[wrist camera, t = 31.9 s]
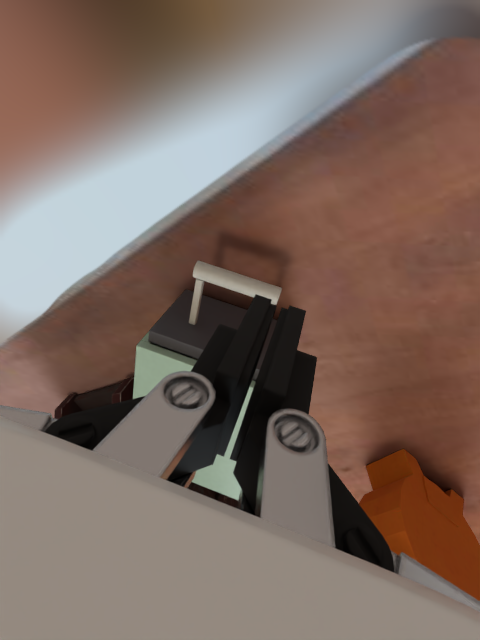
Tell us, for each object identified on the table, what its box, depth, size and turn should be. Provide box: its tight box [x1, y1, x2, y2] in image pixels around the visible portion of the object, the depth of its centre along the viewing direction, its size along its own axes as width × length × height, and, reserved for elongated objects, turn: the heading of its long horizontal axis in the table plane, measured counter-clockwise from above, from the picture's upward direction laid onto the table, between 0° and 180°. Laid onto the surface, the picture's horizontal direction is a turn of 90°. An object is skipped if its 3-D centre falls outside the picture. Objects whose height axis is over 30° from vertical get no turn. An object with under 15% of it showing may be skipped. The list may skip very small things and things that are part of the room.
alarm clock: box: [359, 449, 480, 601], centre depth 34 cm, size 13×6×20 cm, turn 52°
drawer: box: [148, 261, 282, 382], centre depth 35 cm, size 20×11×8 cm, turn 167°
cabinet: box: [133, 332, 255, 500], centre depth 37 cm, size 16×13×10 cm
